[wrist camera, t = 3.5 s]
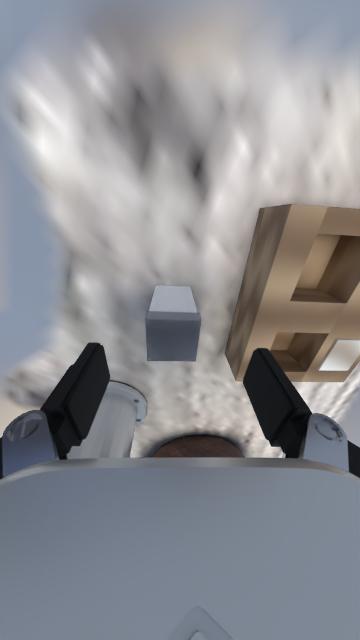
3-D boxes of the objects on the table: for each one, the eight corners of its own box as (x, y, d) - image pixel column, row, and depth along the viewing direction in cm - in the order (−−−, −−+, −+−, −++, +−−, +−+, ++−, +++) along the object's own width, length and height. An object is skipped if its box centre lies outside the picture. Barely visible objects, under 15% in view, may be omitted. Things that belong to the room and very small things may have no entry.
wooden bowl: (259, 463, 45) (281, 523, 36) (173, 484, 49) (174, 542, 40) (228, 413, 33) (249, 484, 24) (120, 447, 38) (105, 517, 29)
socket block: (315, 355, 26) (345, 384, 22) (224, 353, 25) (236, 383, 21) (395, 218, 17) (476, 217, 13) (260, 208, 16) (294, 203, 12)
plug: (188, 317, 22) (195, 361, 15) (155, 316, 22) (147, 360, 15) (191, 285, 20) (201, 320, 13) (154, 284, 20) (145, 318, 13)
